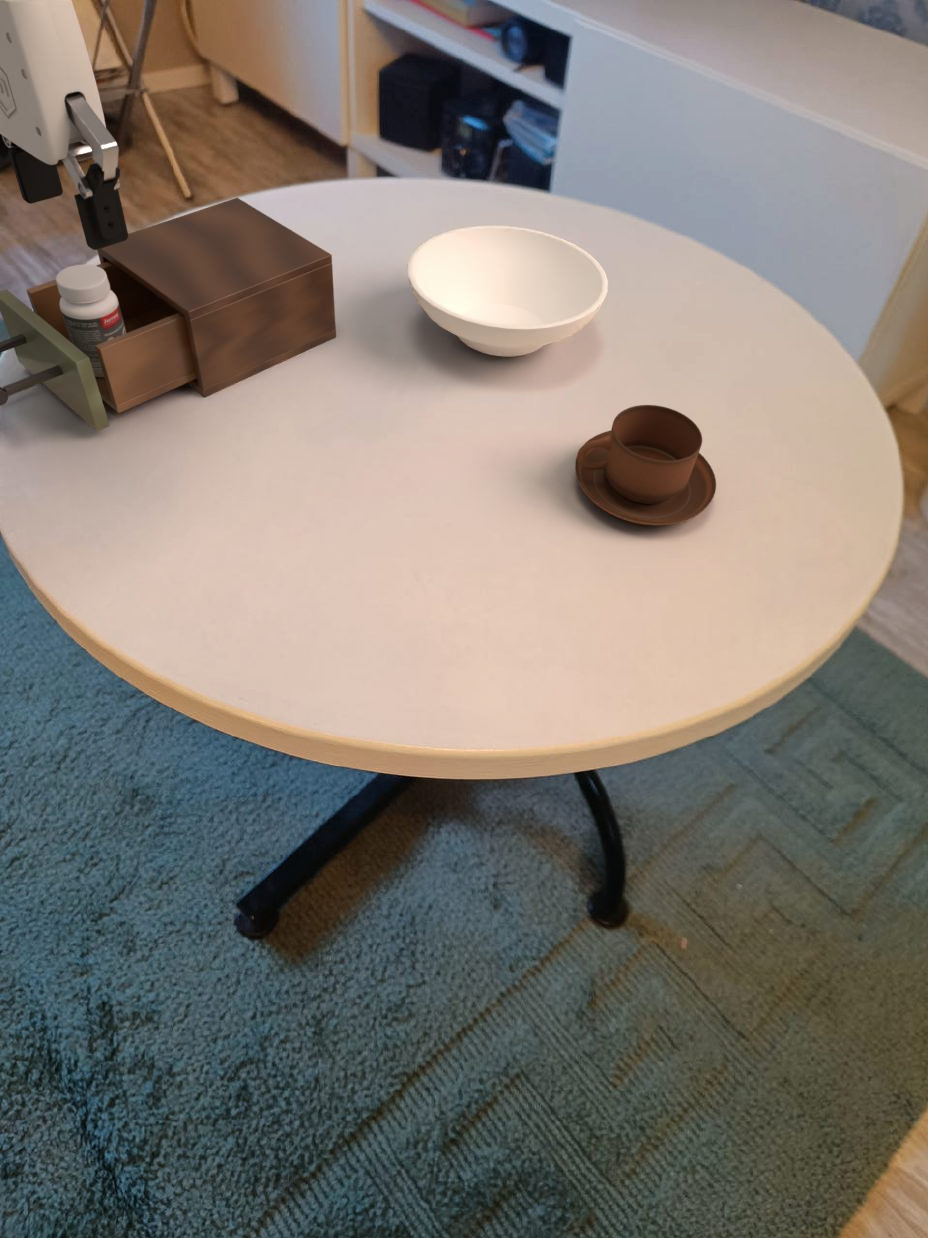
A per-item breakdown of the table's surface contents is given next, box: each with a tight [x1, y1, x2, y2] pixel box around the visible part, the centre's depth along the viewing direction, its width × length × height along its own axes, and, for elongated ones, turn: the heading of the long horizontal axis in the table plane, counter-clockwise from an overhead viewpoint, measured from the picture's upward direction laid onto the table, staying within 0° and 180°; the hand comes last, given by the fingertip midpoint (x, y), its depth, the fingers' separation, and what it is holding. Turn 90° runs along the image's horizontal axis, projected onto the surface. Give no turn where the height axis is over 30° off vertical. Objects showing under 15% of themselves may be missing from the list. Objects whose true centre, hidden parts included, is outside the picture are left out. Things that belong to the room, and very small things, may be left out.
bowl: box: [407, 224, 609, 358], centre depth 86 cm, size 20×20×7 cm
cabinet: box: [96, 197, 337, 398], centre depth 83 cm, size 16×15×9 cm
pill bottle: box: [55, 263, 126, 377], centre depth 75 cm, size 5×5×8 cm
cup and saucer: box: [574, 404, 717, 526], centre depth 73 cm, size 12×12×6 cm
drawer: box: [0, 261, 197, 433], centre depth 76 cm, size 21×13×7 cm, turn 136°
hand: (75, 220), depth 69 cm, fingers open, 9 cm apart
